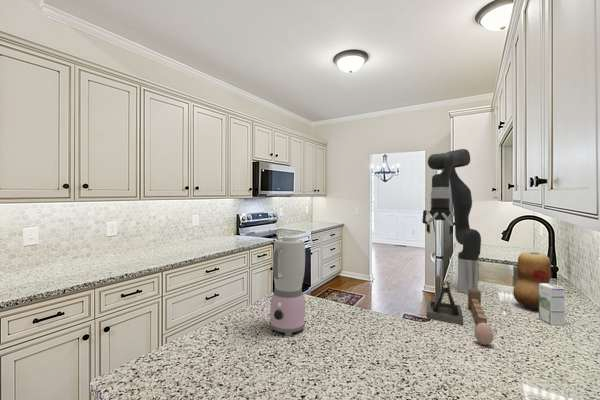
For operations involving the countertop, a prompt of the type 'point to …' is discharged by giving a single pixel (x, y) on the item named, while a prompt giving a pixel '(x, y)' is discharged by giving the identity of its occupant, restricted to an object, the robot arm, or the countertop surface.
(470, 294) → the door-edge rail
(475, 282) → the robot arm
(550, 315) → the syrup box
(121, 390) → the countertop surface
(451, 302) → the phone stand
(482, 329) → the egg
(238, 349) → the countertop surface
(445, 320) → the silver shallow tray
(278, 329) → the blender
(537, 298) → the butternut squash
